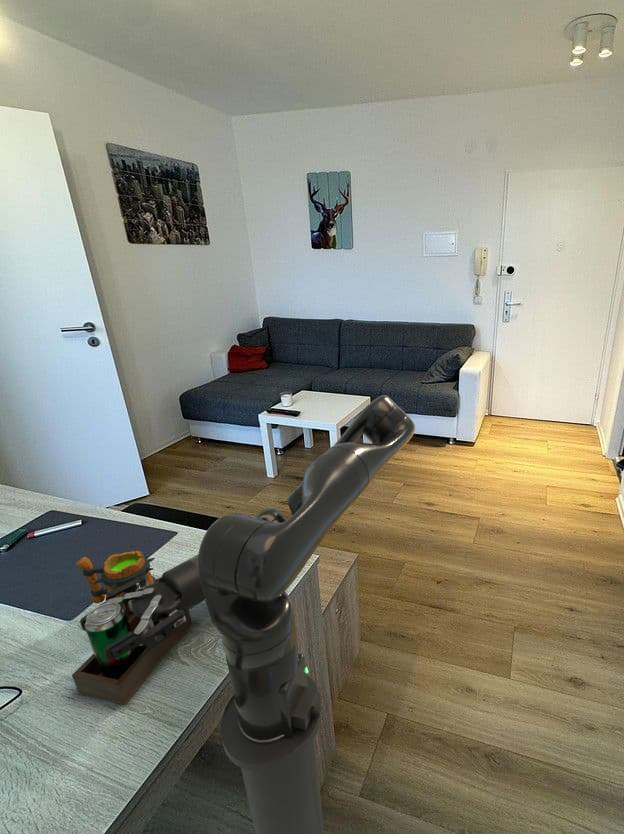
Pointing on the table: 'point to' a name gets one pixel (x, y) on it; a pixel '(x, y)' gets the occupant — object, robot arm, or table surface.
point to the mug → (116, 573)
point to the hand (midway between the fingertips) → (93, 640)
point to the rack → (124, 688)
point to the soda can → (109, 638)
